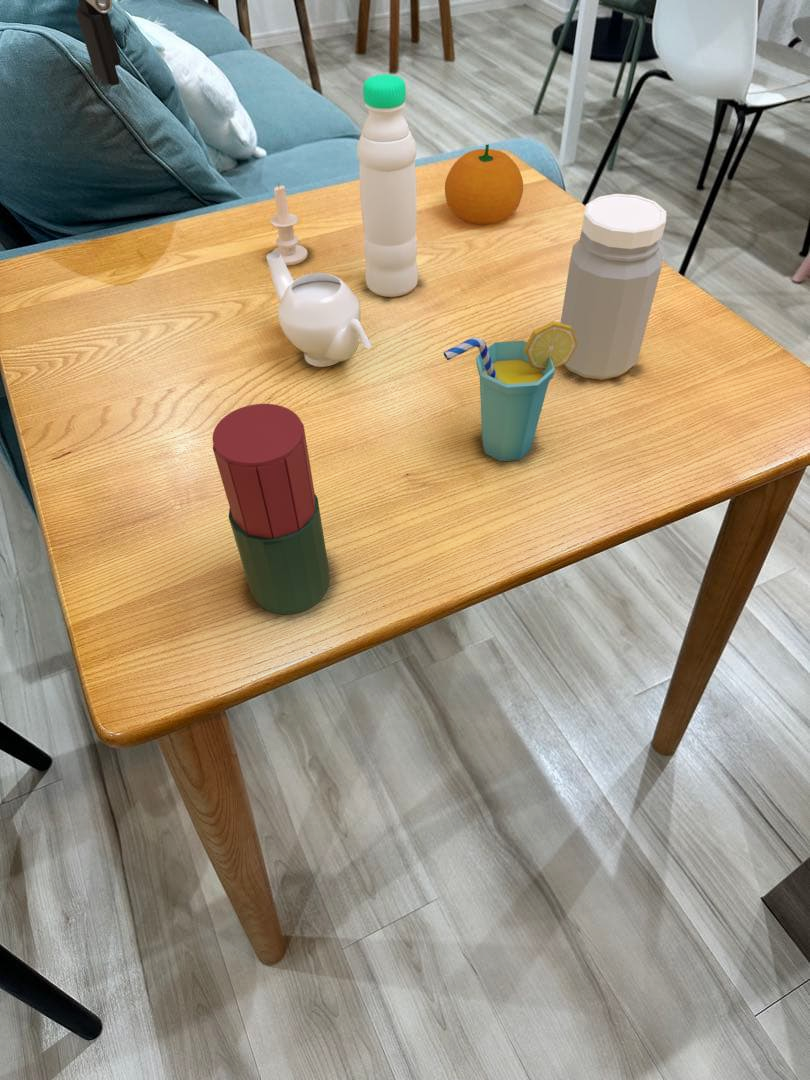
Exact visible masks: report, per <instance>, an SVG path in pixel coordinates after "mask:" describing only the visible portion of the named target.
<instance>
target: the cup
mask: <svg viewBox="0 0 810 1080" xmlns="http://www.w3.org/2000/svg"><path fill="white" fill-rule="evenodd" d="M577 345H578V344H577V341H576V338H575V335H574V332H573V329H572V327H571V326H569V325H566V324H562V323H561V322H558V321H554V320H552V321H550V322H548V323H546V324H544V325H542V326H540V327H538V328H536V329H533V330H532V332H531V334H530V336H529V338H528V339H527V341H525V340H511V341H510V340H509V341H498V342H497V341H496V342H493V343H492V344H491V345H489V346H487V343H486V341H485V340H484V339H482V338H479V337H475V336H472V337H470V338H468V339H466V340H465V341H462V342H461V343H459V344H457V345H455V346H452V347H451V348H449V349H447V350H445V351H443V357H444V358H445V359H446V360H447V361H450V360H452V359H454V358H456V357H458V356H460V355H462V354H464V353H466V352H468V351H470V350H472V349H474V348H478V351H479V354H477V356H475V360H476V362H475V363H476V369H477V372H478V377H479V393H480V395H479V396H480V397H479V399H480V422H481V425H480V426H481V441H482V442H481V443H482V446H483V451H484V454H486V455H488V456H490V457H491V458H494V459H495V460H497V461H499V462H510V461H512V462H513V461H521V460H522V459H523V458H524V457H525V456H526V455H527V454H528V453H529V452H530V451H531V450H532V448H533V443H534V439H535V436H536V431H537V428H538V424H539V421H540V418H541V417H540V416H541V413H542V409H543V405H544V402H545V398H546V395H547V390H548V386H549V383H550V381H551V380H552V379H554V376H555V372H556V369H557V368H560V367H562V366H563V365H564V364H565V363H568V361H569V359H570V358H571V356H572V354H573V352H574V351H575V349H576V347H577Z"/></svg>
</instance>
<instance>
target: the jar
mask: <svg viewBox="0 0 810 1080" xmlns="http://www.w3.org/2000/svg"><path fill="white" fill-rule="evenodd" d="M584 207H585V208H584V211H583V212H584V213H583V219H582V226H581V232H580V237H579V239H578V240H577V241H576V242H575V243H574V244H573V245H572V248H571V253H570V260H569V265H568V272H567V279H566V285H565V292H564V298H563V305H562V312H561V315H560V316H561V318H560V323H562V324H566V325H569V326H571V327H572V329H573V332H574V335H575V338H576V341H577V344H578V345H577V347H576V349H575V351H574V352H573V354H572V356H571V358H570V359H569V361H568V363H565V364H563V365H564V367H566V369H567V370H568V371H570V372H571V373H573V374H575V375H578V376H580V377H581V378H585V379H591V380H599V381H603V380H607V379H608V380H609V379H613V378H618V377H620V376H622V375H623V374H625V373H626V372H627V371H629V370H630V369H631V368H633V367H634V366H635V365H636V364H637V363H638V360H639V358H640V357H639V356H640V353H641V348H642V346H643V341H644V337H645V333H646V331H647V325H648V322H649V318H650V314H651V309H652V305H653V303H654V297H655V294H656V291H657V286H658V282H659V278H660V275H661V271H662V268H663V253H662V251H661V249H660V248H661V239H662V238H663V235H664V231H665V228H666V223H667V211H666V210H665V209H664V208H663V207H662V206H661V205H660V204H659V203H658V202H656V201H655V200H652V199H650V198H648V197H647V198H646V197H643V196H640V195H637V194H628V193H627V194H626V193H614V194H607V195H601V196H600V195H599V196H598V197H596V198H594V199H592V200H591V201H589V202H587V203H586V204H585V206H584Z"/></svg>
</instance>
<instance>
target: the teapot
mask: <svg viewBox="0 0 810 1080" xmlns="http://www.w3.org/2000/svg"><path fill="white" fill-rule="evenodd" d="M265 257H266V261H267V262H266V263H267V266H268V268H269V272H270V276H271V279H272V284H273V288H274V291H275V293H276V297H277V299H278V302H279V303H278V306H277V318H278V323H279V326H280V329H281V330H282V332H283V334H284V336H285V337H286V338H287V340H288V341H289V342H290V343H291V344H292V345H293V346H294V347H295V348H296V349H297V350H299V351H301V352H302V353H303V355H304V360H305V362H306V363H307V364H309V365H311V366H313V367H318V368H325V367H330V366H333V365H336V364H338V363H339V362H345V361H346V360H347V361H348V360H349V359H350V358H352V357H353V356H354V355H355V354H356V352H357V350H358V347H359V342H360V343H361V345H362V347H363V348H365V349H371V348H372V347H373V345H372V342H371V341H370V339H369V338H368V336H367V334H366V332H365V330H364V328H363V326H362V323H361V313H362V312H361V304H360V301H359V299H358V297H357V295H356V294H355V292H353V290H352V289H351V288H350V286H348V284H347V283H346V282H345V281H344V280H342V279H341V277H339V276H336V275H334V274H330V273H326V272H311V273H307V274H304V275H300V276H299V277H297V278H295V279H294V278H293V276H292V274H291V272H290V270H289V268H288V265H286V264H285V262H284V260H283V258H282V256H281V254H280V253H278V252H272V251H271V252H269V253H267V254H266V256H265Z"/></svg>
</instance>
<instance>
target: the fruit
mask: <svg viewBox="0 0 810 1080" xmlns="http://www.w3.org/2000/svg"><path fill="white" fill-rule="evenodd" d="M523 194H524V180H523V176H522V173H521V171H520V168H519V166H518V165H517V163H516V162H515V160H513V159H512V158H511V157H510V156H509V155H508V154H507V153H505V152H503V151H501V150H497V149H491V148H490V144H485V148H479V149H473V150H470V151H467V152H465V153H464V154H463V155H462V156H460V157H459V158H457V160H456V161H455V162H454V163H453V165H452V166H451V168H450V170H449V171H448V174H447V176H446V178H445V182H444V195H445V200H446V203H447V204H446V205H447V206H448V208H449V209H450V210H451V212H452V213H453V214H454V215H455V216H456V217H458V218H459V219H461V220H463V221H464V222H468V223H471V224H479V225H487V224H489V225H490V224H495V223H498V222H501V221H503V220H506V219H507V218H509V217H510V216H512V214H513V213H515V212H516V211H517V209H518V208H519V205H520V203H521V200H522V197H523Z"/></svg>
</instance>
